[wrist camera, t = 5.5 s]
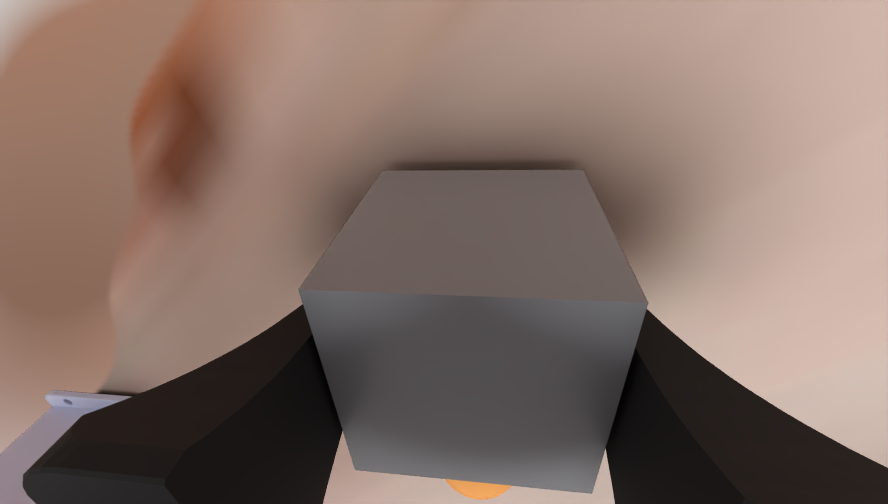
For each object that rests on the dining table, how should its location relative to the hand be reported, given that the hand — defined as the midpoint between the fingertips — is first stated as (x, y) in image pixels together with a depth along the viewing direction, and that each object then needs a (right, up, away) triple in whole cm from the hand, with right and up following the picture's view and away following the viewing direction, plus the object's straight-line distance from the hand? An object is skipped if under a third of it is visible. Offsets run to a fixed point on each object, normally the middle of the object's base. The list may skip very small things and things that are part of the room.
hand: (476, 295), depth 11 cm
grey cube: (0, +1, +2) cm, 2 cm away
